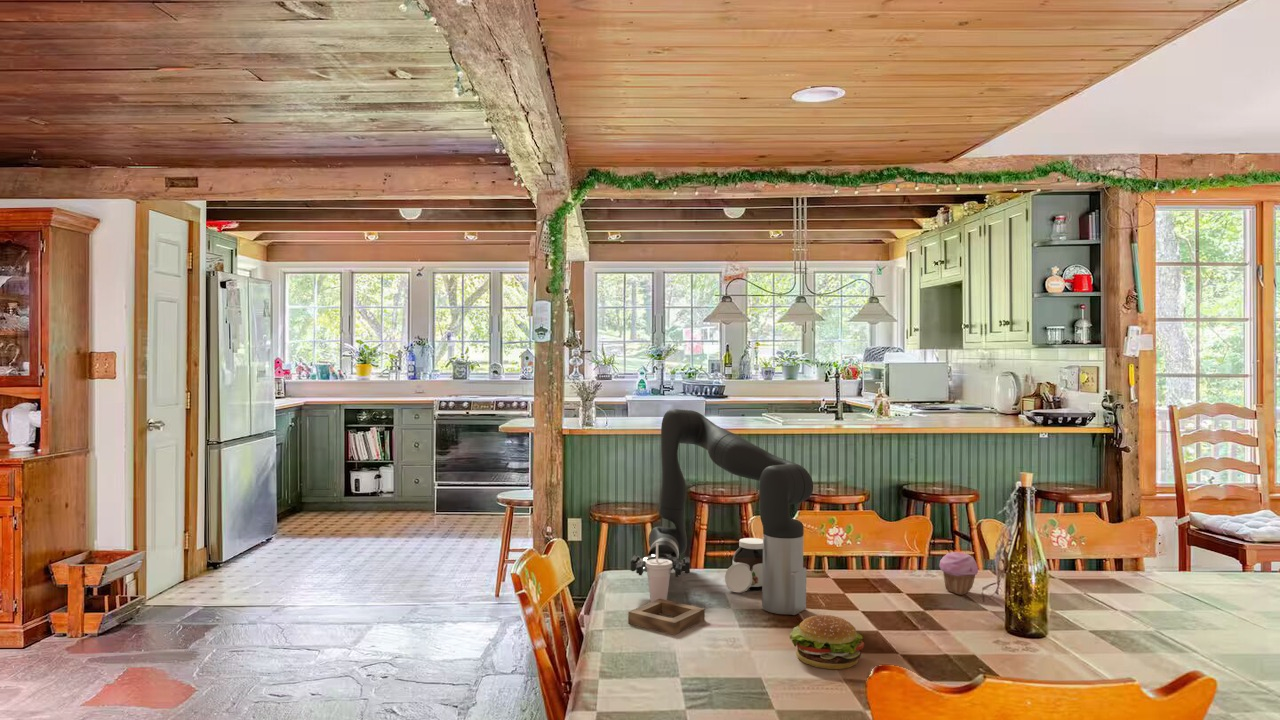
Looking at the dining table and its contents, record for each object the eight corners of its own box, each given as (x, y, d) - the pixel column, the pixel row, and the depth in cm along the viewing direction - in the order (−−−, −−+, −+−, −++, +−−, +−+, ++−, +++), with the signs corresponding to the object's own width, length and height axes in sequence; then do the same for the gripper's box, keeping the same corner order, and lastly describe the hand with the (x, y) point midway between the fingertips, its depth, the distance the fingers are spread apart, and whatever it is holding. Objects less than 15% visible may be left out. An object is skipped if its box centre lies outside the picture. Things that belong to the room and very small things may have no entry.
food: (808, 640, 165) (808, 602, 165) (873, 657, 156) (874, 616, 156) (774, 659, 154) (775, 618, 154) (842, 678, 145) (843, 634, 145)
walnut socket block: (704, 620, 177) (704, 608, 177) (674, 634, 167) (674, 622, 167) (659, 609, 184) (659, 598, 184) (628, 623, 174) (628, 611, 174)
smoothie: (640, 600, 190) (641, 541, 190) (664, 597, 193) (665, 539, 193) (652, 608, 184) (653, 547, 184) (677, 605, 187) (677, 545, 187)
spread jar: (771, 583, 207) (772, 538, 207) (774, 596, 195) (775, 548, 195) (724, 581, 208) (725, 536, 208) (724, 594, 197) (725, 546, 197)
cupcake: (932, 589, 203) (932, 549, 203) (957, 585, 207) (958, 546, 207) (959, 599, 195) (960, 558, 195) (985, 595, 199) (986, 554, 199)
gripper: (635, 539, 204) (628, 554, 188) (691, 541, 202) (689, 557, 186) (635, 568, 204) (627, 586, 188) (691, 571, 202) (688, 589, 186)
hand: (658, 572), depth 187 cm, fingers open, 8 cm apart
